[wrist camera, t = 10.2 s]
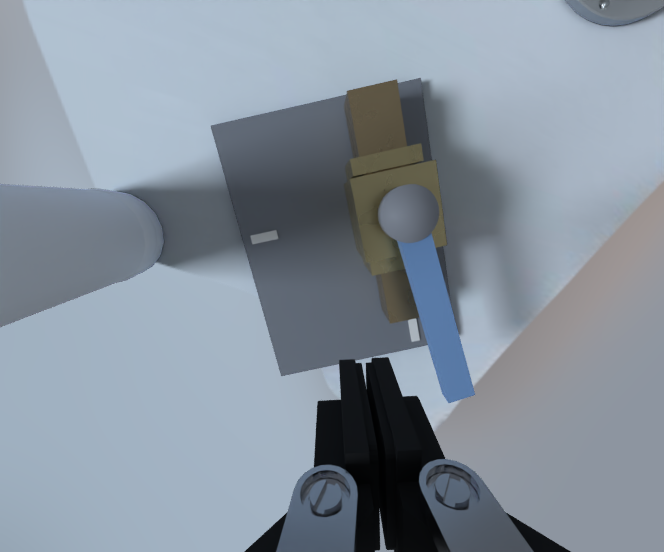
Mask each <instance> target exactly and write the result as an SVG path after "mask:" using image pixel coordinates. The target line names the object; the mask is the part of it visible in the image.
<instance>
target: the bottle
mask: <svg viewBox="0 0 664 552" xmlns="http://www.w3.org/2000/svg"><path fill="white" fill-rule="evenodd" d="M163 244H164V239H163V230H162V226H161V224H160V222H159V220H158V218H157V216H156V214H155V212H154V211H153V210H152V209H151V208H150V207H149V206H148V205H147V204H146V203H145V202H144V201H142V200H140V199H138V198H137V197H135V196H133V195H131V194H128V193H123V192H117V191H110V190H105V189H96V188H93V189H92V188H91V189H73V188H57V187H42V186H24V185H9V184H0V327H2V326H5V325H7V324H10V323H12V322H15V321H18V320H20V319H23V318H25V317H28V316H31V315H33V314H36V313H38V312H41V311H44V310H46V309H49V308H52V307H54V306H56V305H59V304H62V303H65V302H67V301H70V300H72V299H75V298H78V297H80V296H83V295H85V294H88V293H90V292H93V291H96V290H98V289H101V288H104V287H106V286H109V285H111V284H114V283H117V282H122V281H125V280H128V279H130V278H132V277H134V276H136V275H138V274H140V273H142V272H144V271H145V270H147V269H149V268H150V267H152V266H153V265H154V263H155V262H156V261H157V259H158V258H159V257H160V255H161V251H162V247H163Z"/></svg>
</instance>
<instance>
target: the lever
mask: <svg viewBox="0 0 664 552" xmlns="http://www.w3.org/2000/svg"><path fill="white" fill-rule="evenodd" d="M438 218H439V205H438V202H437V200H436V198H435V196H434V195H433V193H432V192H431V191H430V190H428V189H427V188H425V187H423V186H421V185H417V184H408V185H403V186H399V187H396V188H394V189H392V190H390V191H389V192H388V193H387V194H386V195H385V196H384V197H383V199H382V200H381V202H380V205H379V208H378V221H379V224H380V226H381V228H382V230H383V231H384V232H385V233H386V234H387V235H388V236H389V237H391V238H393V239H395V240H397V242H398V246H399V249H400V253H401V256H402V259H403V263H404V266H405V269H406V273H407V276H408V279H409V283H410V286H411V290H412V293H413V296H414V300H415V303H416V306H417V310H418V313H419V316H420V320H421V323H422V326H423V330H424V333H425V337H426V340H427V343H428V347H429V350H430V353H431V357H432V360H433V363H434V367H435V370H436V374H437V377H438V380H439V384H440V387H441V390H442V394H443V395H444V397H445V398H446V400H447V401H448V403H451V402H454V401H457V400H460V399H464V398H467V397H470V396H473V395H475V393H474V389H473V385H472V382H471V378H470V374H469V370H468V367H467V363H466V359H465V356H464V352H463V348H462V344H461V341H460V337H459V333H458V330H457V326H456V322H455V318H454V315H453V311H452V307H451V304H450V300H449V296H448V293H447V289H446V285H445V281H444V278H443V274H442V270H441V267H440V263H439V259H438V255H437V252H436V248H435V244H434V241H433V237H432V233H431V232H432V231H433V230H434V228H435V227H436V224H437V222H438Z"/></svg>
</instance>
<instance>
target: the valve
mask: <svg viewBox="0 0 664 552" xmlns="http://www.w3.org/2000/svg"><path fill="white" fill-rule="evenodd" d="M344 111H345V116H346V121H347V127H348V132H349V137H350V143H351V148H352V153H353V159H350V160H349V161H348V163H347V165H346V166H345V171H346V176H347V182H346V183H345V184H344V189H345V194H346V199H347V204H348V209H349V214H350V219H351V224H352V229H353V234H354V239H355V244H356V249H357V251H358V253H359V254H360V255H361V257H362V258H363V263H364V265H365V266H366V268H367V269H368V271H369V272H370V273H371V275H372V276H374V275H376V281H377V286H378V291H379V297H380V302H381V307H382V311H383V312H384V314H385V316H386V318H387V319H388V321H389V323H390V324H392V323H396V322H401V321H406V320H410V319H415V318H420V316H419V313H418V310H417V306H416V303H415V300H414V296H413V293H412V290H411V286H410V283H409V279H408V276H407V273H406V269H405V266H404V263H403V259H402V256H401V253H400V249H399V246H398V242H397V240H395V239H393V238H391V237H389V236H388V235H387V234H386V233H385V232H384V231H383V230H382V228H381V226H380V224H379V221H378V208H379V205H380V202H381V200H382V199H383V197H384V196H385V195H386V194H387V193H388V192H389V191H390V190H392V189H394V188H396V187H399V186H403V185H408V184H417V185H421V186H423V187H425V188H427V189H428V190H430V191H431V192H432V193H433V195H434V196H435V198H436V200H437V202H438V205H439V218H438V222H437V224H436V227H435V228H434V230H433V231H432V232H431V233H432V237H433V241H434V244H435V248H437V247H441V246H446V245H447V241H446V233H445V226H444V218H443V210H442V203H441V195H440V187H439V180H438V172H437V164H436V160H432V161H428V162H423V163H419V162H421V161H424V159H423V152H422V145H421V143H420V144H415V145H411V146H407V143H406V136H405V129H404V123H403V116H402V109H401V103H400V96H399V89H398V83H397V80H393V81H388V82H384V83H380V84H375V85H371V86H366V87H362V88H358V89H353V90H349V91H347V94H346V98H345V103H344ZM417 163H419V164H417Z"/></svg>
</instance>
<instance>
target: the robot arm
mask: <svg viewBox="0 0 664 552" xmlns="http://www.w3.org/2000/svg"><path fill="white" fill-rule="evenodd" d="M565 1H566V2H567V4H568V5H569V6H570V7H571V8H572V9H573V10H574V11H575V12H576V13H578V14H579V15H581V16H582V17H584V18H585V19H587V20H589V21H592V22H595V23H598V24H602V25H611V26H616V25H624V24H629V23H632V22H635V21H638V20H641V19H643V18H645V17H647V16H649V15H651V14H652V13H654V12H656V11H658V10H660V9H661V8H663V7H664V0H565ZM339 368H340V388H341V400H329V401H328V400H327V401H318V405H317V423H316V440H315V458H314V468H312V469H310V470H308V471H307V472H305V473H304V474H303V475H302V476H301V477H300V479H299V480H298V481H297V484H296V486H295V488H294V491H293V494H292V498H291V502H290V505H289V509H288V512H287V513H286V514H285V515H284V516H283V517H282V518H281V519H280V520H279V521H277V522H276V523H275V524H274V525H273V526H272V527H271V528H270V529H269V530H268V531H266V532H265V533H264V534H263V535H262V536H261V537H260V538H259V539H258V540H257V541H256V542H255V543H253V544H252V545H251V546H250V547H249V548H248V549H247V550H246V551H245V552H375V550H380V522H379V521H380V518H379V508H380V514H381V521H382V527H383V533H384V539H385V545H386V549H387V550H394V552H570V551H569V550H567V549H565V548H564V547H562V546H560V545H559V544H557V543H555V542H554V541H552V540H550V539H549V538H547V537H545V536H544V535H542V534H540V533H539V532H537V531H536V530H534V529H532V528H531V527H529V526H527V525H526V524H524V523H522V522H521V521H519V520H517V519H516V518H514V517H513V516H511V515H509V514H508V513H506V512H505V511H504V510H503V508H502V507H501V505H500V504H499V503H498V501H497V500H496V498H495V497H494V496H493V494H492V493H491V491H490V490H489V489H488V487H487V486H486V484H485V483H484V482H483V480H482V479H481V478H480V477H479V476H478V475H477V473H475V471H473V470H472V469H470V468H469V467H468V466H466V465H464V464H462V463H459V462H457V461H453V460H448V459H445V457H444V455H443V452H442V450H441V448H440V445H439V443H438V441H437V439H436V436H435V434H434V432H433V430H432V427H431V425H430V423H429V420H428V418H427V416H426V414H425V411H424V409H423V407H422V405H421V402H420V400H419V398H418V397H417V396H406V397H403V396H402V394H401V391H400V388H399V385H398V383H397V380H396V377H395V374H394V372H393V369H392V366H391V363H390V361H389V358H388V357H385V358H372V363H366V385H365V379H364V374H363V369H362V364H361V363H355V359H346V360H339ZM366 387H367V390H366Z"/></svg>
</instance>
